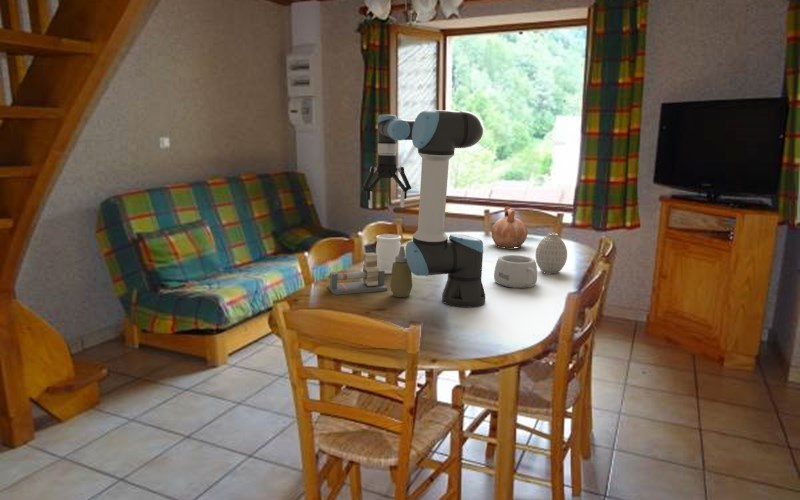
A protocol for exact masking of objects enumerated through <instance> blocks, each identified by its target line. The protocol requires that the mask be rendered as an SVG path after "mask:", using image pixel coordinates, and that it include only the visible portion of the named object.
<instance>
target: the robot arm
mask: <svg viewBox="0 0 800 500" xmlns="http://www.w3.org/2000/svg"><path fill="white" fill-rule="evenodd" d="M483 134H484V124H483V122H482V120H481V119H480V117H479V116H478V115H476V114H475V113H473V112H470V111H466V110H446V109H445V110H443V109H441V110H440V109H430V110H422V111H421V112H419V113H418V114H417V116H416V117H415V119H400V118H398V117H397V115H396V114H379V115H378V119H377V154H378V155H377V166H376V167H374V166H370V167H369V170H368V171H369V172H368V174H367V176H366V178H365V180H364V182H363V184H362V186H361V190H362V191H365V192H366V194H365V196H366V198H365V199H366V200H367V201H368V209H373V191H372V190H373V188H374V187H375V186H376V185H377V184H378V183H379V181H380V180H381V179H392V178H393V180H394V181H395V183H396V184H397V185H398V186H399V187H400V189H401V190H400V197H399V198H400V203H399V204H400V205H399V206H400V207H401V208H405V200H406V199H407V197H408V195H407V193H408V191H410V190H411V189H412V187H411V186H412V185H411V184H410V181H409V180H408V177H407V176H406V173H405V167H404V166H398V167H397V155H396V154H397V147H398V146H397V144H398V143H397V141H412V144H413V147H415V148H416V149H417V154H418V155H419V156H420V157H421V172H420V186H419V187H420V189H419V204H418V205H419V207H418V208H419V209H418V219H417V220H418V222H417V223H418V225H417V230H416V232H414V233H413V234H412V240H410V241H408V242H407V243H406V246H405V255H406V259H407V263H408V266H409V268H410V270H411V273H412V275H413V274H414V275H415V276H417V277H419V276H420V277H421V276H422V277H423V276H425V277H428V276H437V275H447V281H446V283H445V285H444V288H443V290H442V292H441V293H442V294H441V301H442V302H443V303H445V304H447V305H449V306H453V307H457V308H476V307H480V306H483V305H485V303H486V293H485V289H484V286H483V283H482V273H483V272H482V271H483V259H484V242H483V241H482V240H481V239H480V238H479V237H476V236H473V235H467V234H460V233H451V234H450V235H449V236H448V235H447V234H446V233H445V231H444V229H445V219H446V218H445V217H446V205H447V194H448V193H447V191H448V189H447V188H448V178H449V177H448V176H449V164H450V160H451V158H452V157H453V156H455V149H466V148H471V147H473V146H474V145H476V144H478V143H479V141H480V140H481V139H482V137H483ZM376 172H377V173H378V174H377V175H375V177H374V179H373V180H372V178H373V176H374V173H376ZM397 172H399V174H400V176H401V178H402V181H403V182H402V181H401V179H400V178H399V177H398V175H397V174H396V173H397Z"/></svg>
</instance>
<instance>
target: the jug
mask: <svg viewBox="0 0 800 500" xmlns="http://www.w3.org/2000/svg"><path fill="white" fill-rule="evenodd" d="M503 212H504V216H503V217H501V218H500V219H498V220H496V222H494V224H493V226H492V227H491V231H490V232H491V239H492V240H493V242H494V244H495V245H497V246H499V247H505V248H514V247H519V246H520V247H521V246H522V245H523V244H524V243H525V242H526V241H527V239H528V238H527V237H528V234H529V233H528V228H527V227H526V225H525V223H524V222H523V221H522V220H521V219H519V218H517V217H515V215H516V210H515V209H511V207H510V206H505V207H504V211H503ZM497 246H496V247H497ZM499 247H498V248H499ZM520 247H519V248H520Z"/></svg>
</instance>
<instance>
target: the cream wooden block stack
mask: <svg viewBox="0 0 800 500" xmlns="http://www.w3.org/2000/svg"><path fill="white" fill-rule="evenodd" d="M378 269H379V266H378V263H377V254H376V252H364V253H363V263H362V272H366V271H367V278H362V282H364V283H365V284H366V285H367V286H376V285H378Z"/></svg>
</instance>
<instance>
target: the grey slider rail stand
mask: <svg viewBox="0 0 800 500" xmlns="http://www.w3.org/2000/svg"><path fill="white" fill-rule="evenodd" d="M363 278H367V271H366V272H363V271H353V272H335V271H334V272H333V271H332V272H330V271H329V283H328V284H327V287H328V290H329V291H330V292H331V293H332V294H333V295H334V296H337V295H349V294H350V295H351V294H363V293H373V292H375V293H376V292H386V291H388V287H387V286H386V285H385V273H384V270H383V269H379V268H378V285H376V286H367V285H366V284H365V283H364V282H363V281H352V282H351V281H350V282H339V283H338V281H347V280H353V279H354V280H355V279H363Z"/></svg>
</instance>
